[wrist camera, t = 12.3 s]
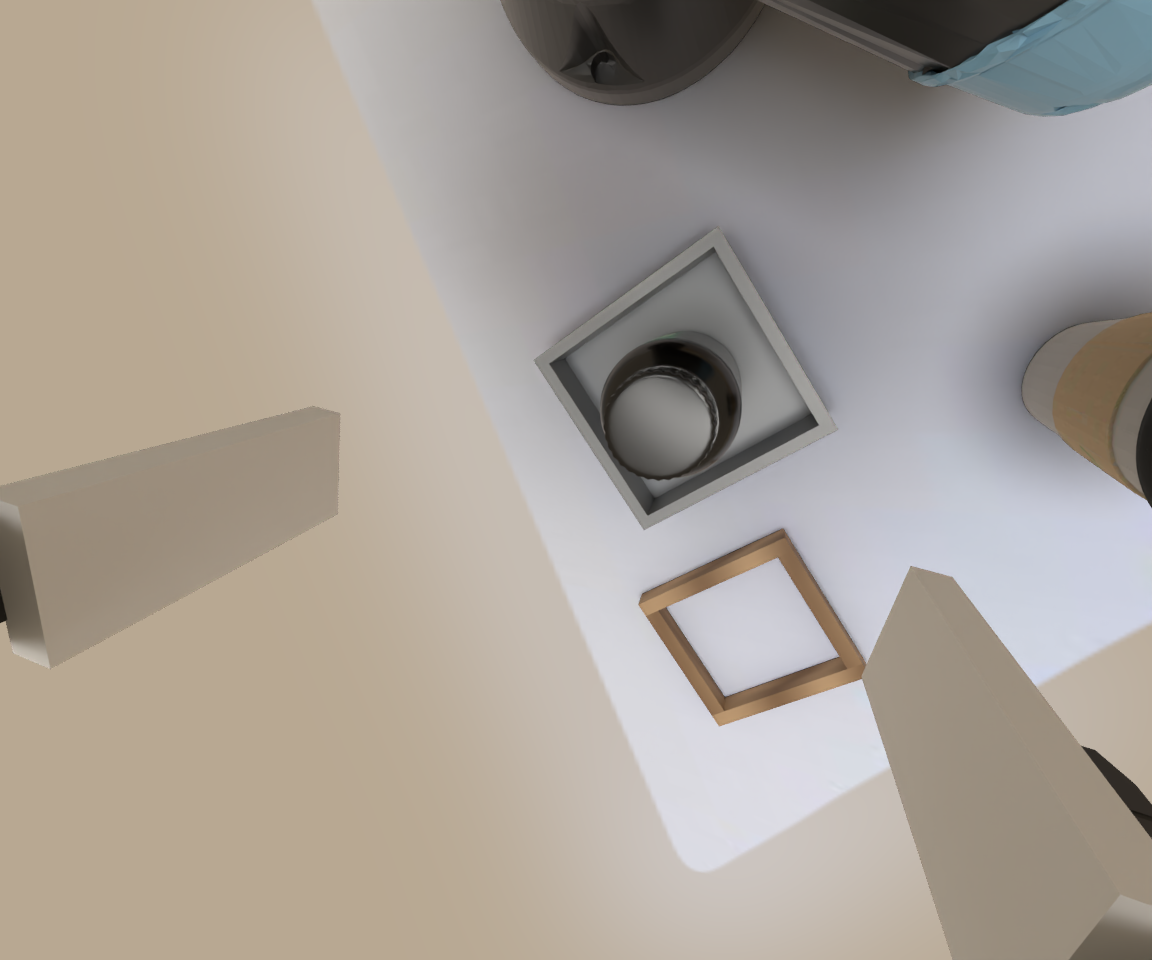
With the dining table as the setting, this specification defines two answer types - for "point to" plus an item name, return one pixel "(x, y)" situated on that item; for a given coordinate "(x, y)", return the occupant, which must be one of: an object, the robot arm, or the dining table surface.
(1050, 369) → the coffee cup
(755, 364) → the bin
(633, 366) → the supplement bottle
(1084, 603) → the dining table surface
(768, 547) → the wooden square frame
